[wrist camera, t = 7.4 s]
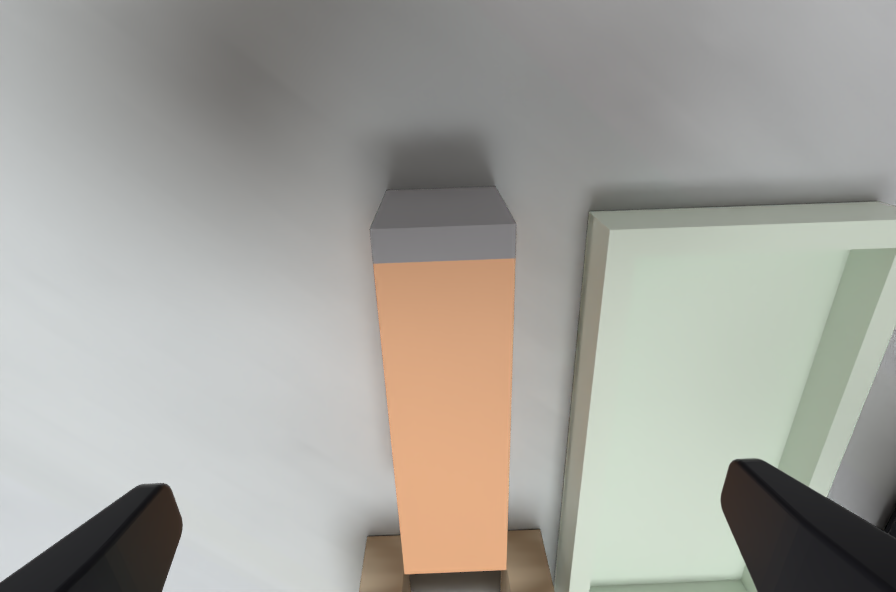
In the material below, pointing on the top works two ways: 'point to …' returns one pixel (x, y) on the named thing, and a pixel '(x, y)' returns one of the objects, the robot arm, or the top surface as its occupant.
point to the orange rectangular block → (448, 370)
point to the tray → (713, 377)
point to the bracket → (521, 581)
